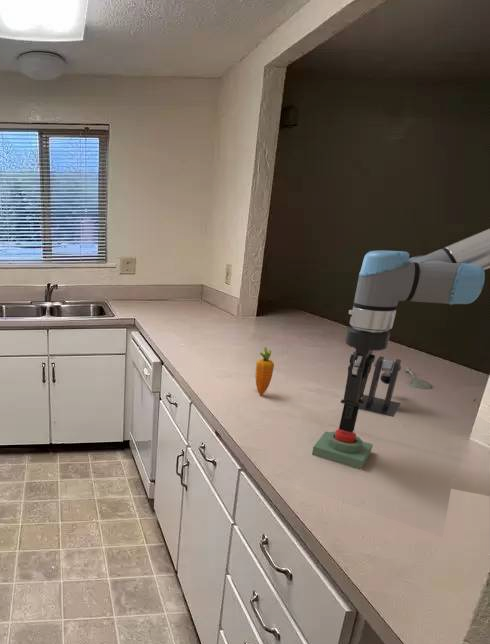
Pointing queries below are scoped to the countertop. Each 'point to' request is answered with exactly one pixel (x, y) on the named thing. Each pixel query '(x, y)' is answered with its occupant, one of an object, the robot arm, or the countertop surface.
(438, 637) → the countertop surface
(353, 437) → the button
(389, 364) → the grey swinging pendulum
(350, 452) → the button box
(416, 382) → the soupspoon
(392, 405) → the twin-post stand
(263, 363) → the carrot
